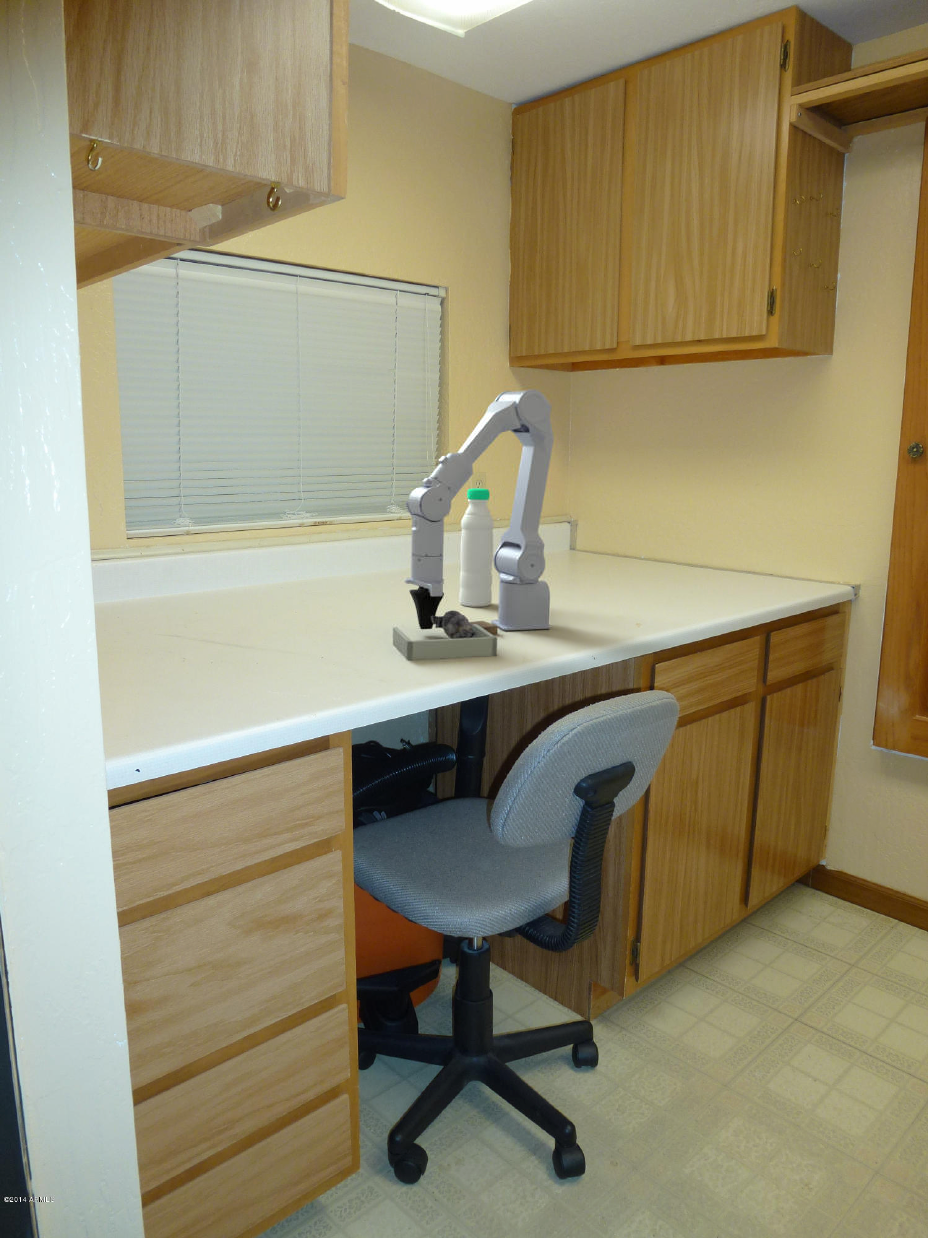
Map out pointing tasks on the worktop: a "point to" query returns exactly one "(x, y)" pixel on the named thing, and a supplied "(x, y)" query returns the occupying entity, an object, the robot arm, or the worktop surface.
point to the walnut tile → (487, 626)
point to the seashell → (454, 625)
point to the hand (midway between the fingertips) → (426, 628)
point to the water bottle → (476, 551)
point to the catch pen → (446, 646)
